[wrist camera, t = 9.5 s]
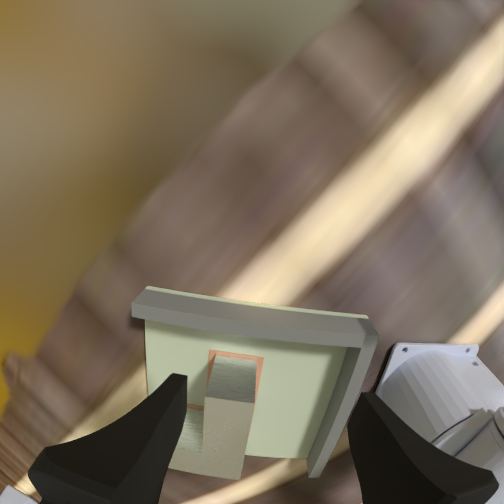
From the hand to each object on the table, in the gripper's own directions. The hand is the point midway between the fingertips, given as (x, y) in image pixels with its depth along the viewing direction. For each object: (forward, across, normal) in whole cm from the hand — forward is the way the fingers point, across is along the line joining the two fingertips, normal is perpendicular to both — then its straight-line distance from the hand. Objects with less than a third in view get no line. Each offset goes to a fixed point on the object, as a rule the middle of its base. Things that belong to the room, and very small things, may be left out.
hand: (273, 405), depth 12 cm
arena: (+10, +1, +8) cm, 13 cm away
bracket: (+10, +4, +9) cm, 14 cm away
